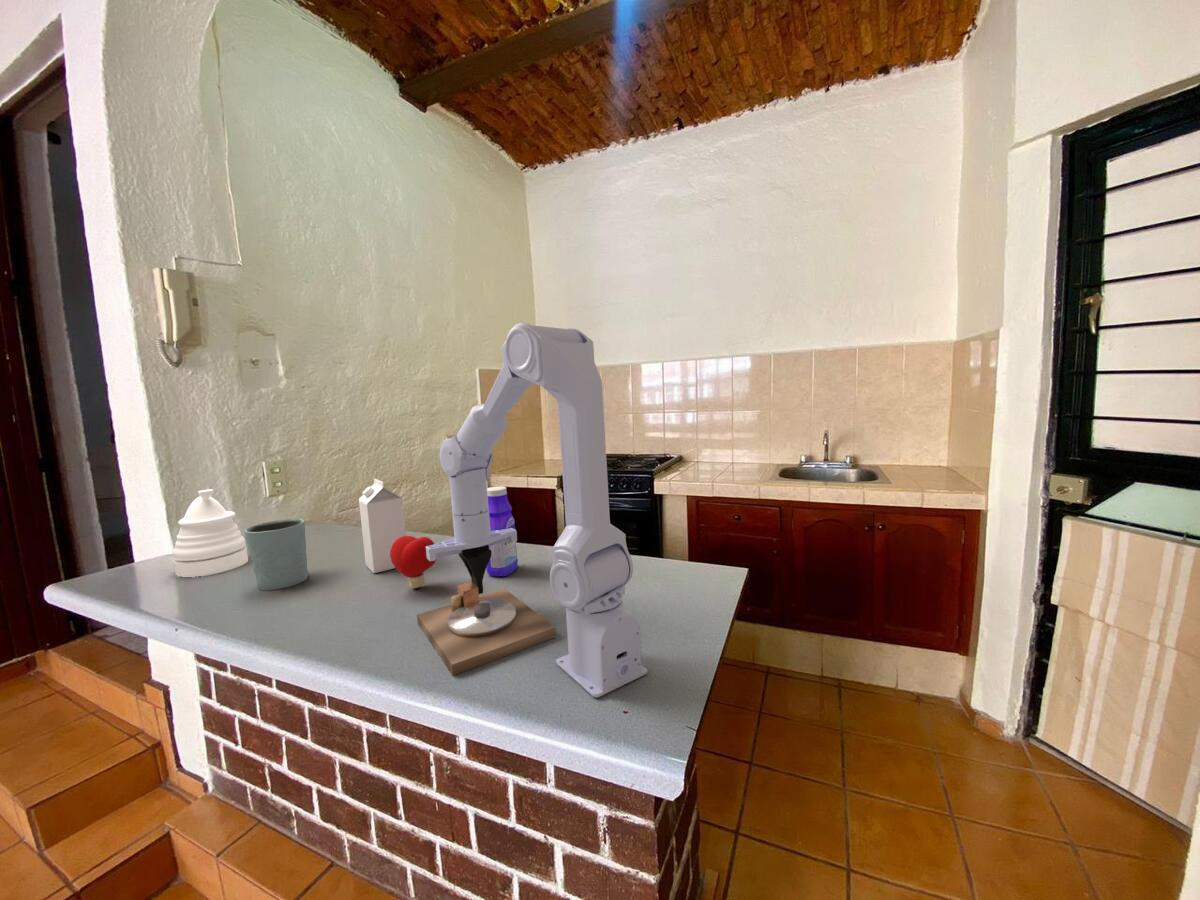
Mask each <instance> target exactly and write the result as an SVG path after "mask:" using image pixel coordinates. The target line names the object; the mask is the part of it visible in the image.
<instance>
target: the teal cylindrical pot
mask: <svg viewBox="0 0 1200 900" xmlns="http://www.w3.org/2000/svg"><path fill="white" fill-rule="evenodd" d="M305 524H306V523H305V519H302V518H287V519H280V520H279V519H278V520H272V521H268V522H264V523H259V524H258V523H257V524H255V525H252V526H249V527H248V528H246V529H244V535H245V541H246V545H247V548H248V551H249V555H250V560H251V562H252V568H253V571H254V574H255V579H256V584H257V587H258V589H259V590H262V591H274V590H281V589H284V588H285V589H287V588H290V587H292V586H293V587H294V586H297V585H299V584H302V583H303V582H305V581H306V580H307V579H308V577H309V570H308V557H307V543H306V525H305Z"/></svg>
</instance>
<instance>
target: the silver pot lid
mask: <svg viewBox="0 0 1200 900" xmlns="http://www.w3.org/2000/svg"><path fill="white" fill-rule="evenodd" d="M457 595H461V599H462V607H460V608H459V609H457V610H455V611H454V612H453V613H452V614H451V615H450V616H449V618H448V627H449V630H450V631H451V632H452V633H454V634H456V635H459V636H465V637H478V636H485V635H489V634H493V633H496V632H499V631H501V630H503V629H505V628H507V627H508V626H510V625H511V624H512V623H513V622H514V621H515V619H516V609H515V607H514V605H512V604H511V603H509V602H506V601H501V600H485V601H479V596H480V594H479V592H478V587H477V586H476V585H475V584H474V583H472V581H470V582H466V583H462V584H458V585H457ZM479 603H489V604H490V614H489V615H488V616H485V617H475V616H474V606H475V605H476V604H479Z"/></svg>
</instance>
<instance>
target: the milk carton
mask: <svg viewBox="0 0 1200 900" xmlns="http://www.w3.org/2000/svg"><path fill="white" fill-rule="evenodd" d="M403 501H404V500H403V497H401V496H400V495H398V494H397V493H394V492H393V491H392V490H390V489H388V488H386V487H385V484H384V481H382V480H380V479H377V478H373V484H372V485H371V486H367V487H366V488H365V489H364V490H363V491H362V496H360V497H359V498H358V504H359V506H358V507H359V513H360V521H361V522H360V524H361V532H362V541H363V542H362V543H363V551H364V552H363V553H364V561H365V567H367V569H369V570H370V571H371V573H373V574H377V573H381V572H386V571H389V570H392V569H393V570H394V569H396V568H395V567H394V565H393V564H392V561H391V558H390V550H391V547H392V545H393V543H394V542H395V541H396V540H397V539H398V538H400V537H403V536H407V533H406V523H405V513H404V510H405V509H404V502H403Z"/></svg>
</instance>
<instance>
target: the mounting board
mask: <svg viewBox="0 0 1200 900" xmlns="http://www.w3.org/2000/svg"><path fill="white" fill-rule="evenodd" d="M485 600H501V601H506V602H509V603H511V604H512V605H514V607H515V609H516V619H515V621H514V622H513V623H512V624H511V625H510V626H508V627H507V628H505V629H503V630H501V631H499V632H496V633H493V634H489V635H485V636H478V637H465V636H459V635H456V634H454V633H452V632H451V631H450V630H449V627H448V618H449V616H450V615H451V614H452V613H453V612H454V611H455V610H457V609H459V608H460V607H462V599H461V595H458V594H455V595H452V596H451V597H450V604H448V605H446V606H442V607H441V606H440V607H438V608H435V609H432V610H428V611H425V612H422V613H418V614H416V618H417V620H416V621H417V625H418V626H419V627H420V629H421V631H422V632H423V634H424V635H425V636H426V638H427V640H428V641H429V642H430V644H431V645H432V647H433V648H434V650H435V651H436V653H437V654H438V656H439V657H440V660H442V661H443V663H444V665H445V666H446V668H447V669H448V671H449V672H450V674H451V676H453V677H454V676H456V675H459V674H461V673H464V672H467V671H469V670H472V669H474V668H477V667H479V666H484V664H488V663H491V662H494V661H495V660H498V659H502V658H504V657H507V656H509V655H512V654H515V653H518V652H520V651H522V650H525V649H528V648H530V647H533V646H536V645H538V644H541V643H543V642H546V641H549V640H552V639H553V638H557V635H556V627H555V626H554V625H553V624H551V623H550V622H549V621H548V620H546V619H545V618H544V617H542V615H540V614H538V613H537V611H534V610H533V609H532V608H531V607H529V606H528V605H527V604H525V603H524V602H523V601H522V600H520V599H519V598H518V597H517V596H515V594H513V593H511V592H510V591H508V590H507V589H506V588H503V589H500V590H498V591H497V590H496V591H493V592H490V593H486V594H483V595H479V601H485ZM489 614H490V604H489V603H479V604H476V605H475V606H474V616H475V617H485V616H488V615H489Z"/></svg>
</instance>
